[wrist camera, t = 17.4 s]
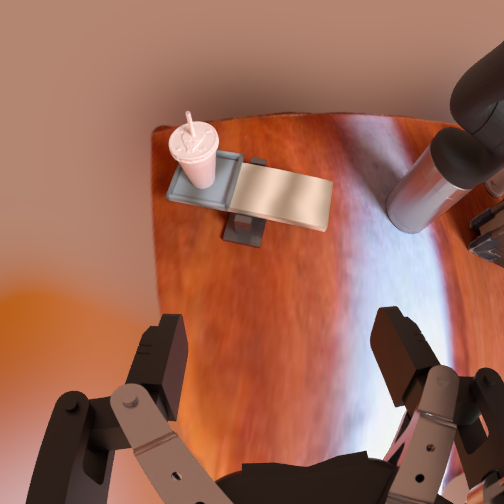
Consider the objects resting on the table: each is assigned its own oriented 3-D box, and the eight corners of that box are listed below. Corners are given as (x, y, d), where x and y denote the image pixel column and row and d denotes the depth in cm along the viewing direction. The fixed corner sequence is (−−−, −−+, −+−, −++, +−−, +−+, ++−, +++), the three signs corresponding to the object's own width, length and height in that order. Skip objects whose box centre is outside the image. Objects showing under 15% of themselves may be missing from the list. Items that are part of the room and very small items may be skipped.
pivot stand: (276, 175, 52) (279, 155, 47) (259, 248, 48) (261, 234, 42) (243, 168, 53) (242, 148, 47) (223, 240, 49) (219, 226, 43)
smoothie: (226, 161, 45) (218, 97, 32) (221, 197, 43) (210, 137, 30) (186, 161, 46) (166, 98, 32) (179, 196, 44) (153, 138, 30)
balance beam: (331, 182, 46) (335, 173, 44) (323, 236, 44) (328, 229, 41) (187, 155, 48) (184, 145, 45) (168, 204, 45) (163, 196, 42)
